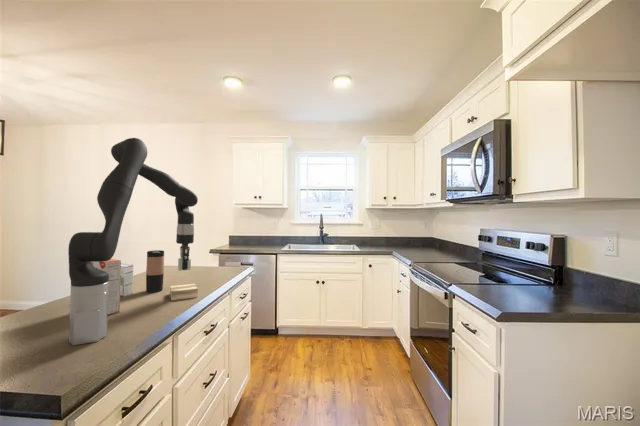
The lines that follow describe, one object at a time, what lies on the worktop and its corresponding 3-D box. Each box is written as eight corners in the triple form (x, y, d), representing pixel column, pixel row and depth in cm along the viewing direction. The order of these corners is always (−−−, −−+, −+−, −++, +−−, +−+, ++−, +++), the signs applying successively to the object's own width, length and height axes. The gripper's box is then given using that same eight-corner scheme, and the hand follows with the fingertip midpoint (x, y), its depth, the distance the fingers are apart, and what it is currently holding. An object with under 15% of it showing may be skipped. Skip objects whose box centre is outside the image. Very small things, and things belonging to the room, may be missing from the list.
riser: (197, 297, 131) (197, 288, 131) (171, 300, 126) (171, 291, 126) (194, 291, 141) (194, 283, 141) (170, 294, 135) (170, 285, 135)
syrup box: (133, 293, 135) (134, 263, 135) (123, 296, 129) (124, 265, 129) (122, 292, 135) (123, 262, 136) (112, 295, 130) (113, 265, 130)
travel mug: (146, 289, 142) (148, 250, 142) (163, 288, 145) (165, 250, 145) (144, 293, 135) (145, 252, 135) (162, 292, 138) (163, 252, 138)
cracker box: (84, 310, 111) (86, 257, 111) (101, 305, 116) (103, 256, 116) (102, 317, 104) (104, 261, 104) (120, 312, 109) (121, 259, 109)
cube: (190, 269, 132) (190, 259, 132) (178, 270, 130) (179, 260, 130) (189, 268, 137) (189, 257, 137) (177, 268, 134) (178, 258, 134)
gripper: (195, 234, 129) (194, 270, 129) (192, 232, 141) (190, 265, 141) (177, 234, 125) (176, 272, 125) (175, 232, 138) (174, 266, 137)
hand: (184, 268), depth 133 cm, fingers closed on cube, 5 cm apart
